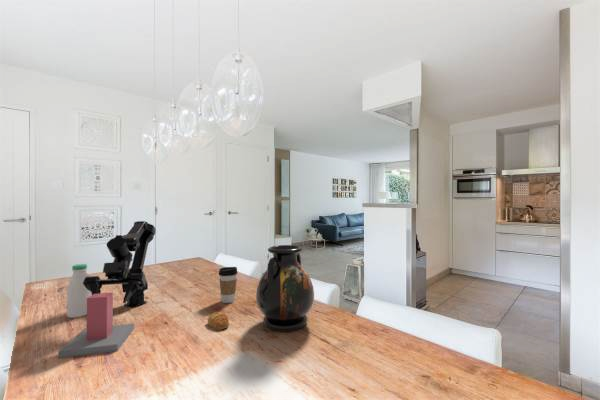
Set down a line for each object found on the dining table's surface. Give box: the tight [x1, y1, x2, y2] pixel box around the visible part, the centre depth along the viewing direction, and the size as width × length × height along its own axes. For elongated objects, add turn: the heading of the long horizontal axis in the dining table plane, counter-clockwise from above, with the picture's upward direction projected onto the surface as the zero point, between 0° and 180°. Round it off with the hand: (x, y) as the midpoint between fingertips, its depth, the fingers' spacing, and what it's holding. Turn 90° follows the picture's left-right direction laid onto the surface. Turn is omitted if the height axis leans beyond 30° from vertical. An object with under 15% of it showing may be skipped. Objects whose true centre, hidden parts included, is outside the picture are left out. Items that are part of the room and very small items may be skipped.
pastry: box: [207, 311, 230, 331], centre depth 101 cm, size 9×7×4 cm
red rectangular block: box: [86, 292, 114, 340], centre depth 89 cm, size 4×6×13 cm
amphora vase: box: [255, 244, 315, 332], centre depth 102 cm, size 22×22×28 cm
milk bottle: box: [66, 263, 92, 319], centre depth 111 cm, size 8×8×20 cm
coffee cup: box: [218, 266, 238, 304], centre depth 126 cm, size 8×8×15 cm
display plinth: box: [58, 323, 135, 359], centre depth 89 cm, size 15×15×2 cm
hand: (108, 304), depth 95 cm, fingers open, 9 cm apart
